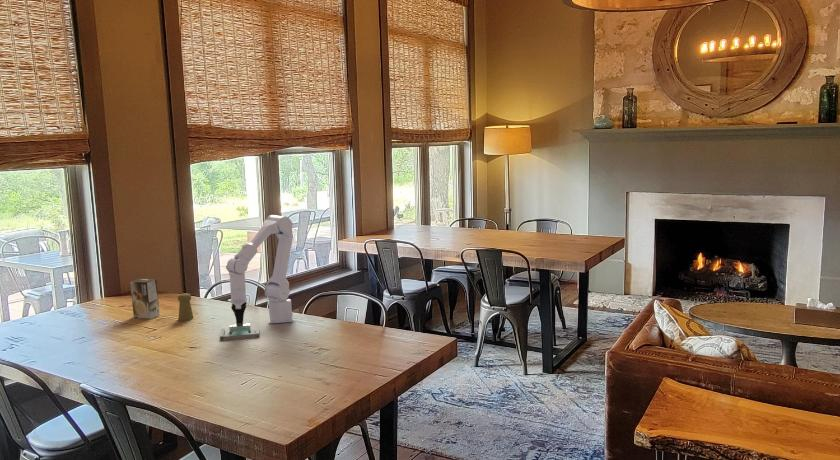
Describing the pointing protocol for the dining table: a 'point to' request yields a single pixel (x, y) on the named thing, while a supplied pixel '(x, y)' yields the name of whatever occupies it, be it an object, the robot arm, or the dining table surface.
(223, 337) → the frame
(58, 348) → the dining table surface
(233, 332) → the tile
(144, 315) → the coffee box
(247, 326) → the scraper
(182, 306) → the cork
